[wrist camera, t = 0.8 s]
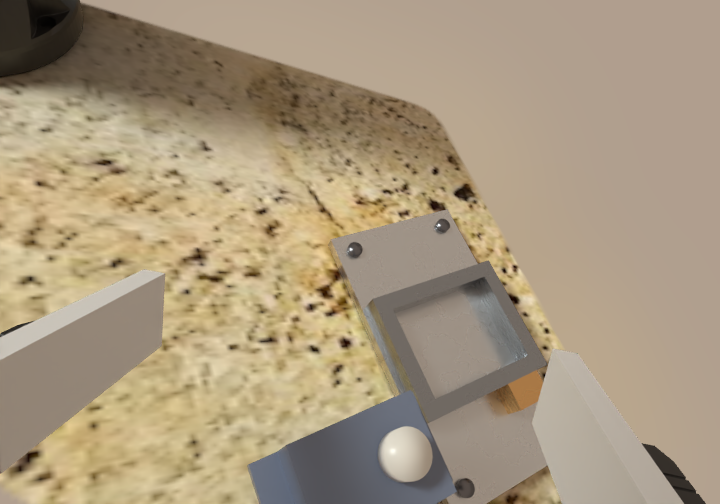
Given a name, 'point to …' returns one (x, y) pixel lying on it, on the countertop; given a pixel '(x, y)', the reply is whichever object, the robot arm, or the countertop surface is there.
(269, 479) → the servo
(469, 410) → the chassis
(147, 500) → the countertop surface
